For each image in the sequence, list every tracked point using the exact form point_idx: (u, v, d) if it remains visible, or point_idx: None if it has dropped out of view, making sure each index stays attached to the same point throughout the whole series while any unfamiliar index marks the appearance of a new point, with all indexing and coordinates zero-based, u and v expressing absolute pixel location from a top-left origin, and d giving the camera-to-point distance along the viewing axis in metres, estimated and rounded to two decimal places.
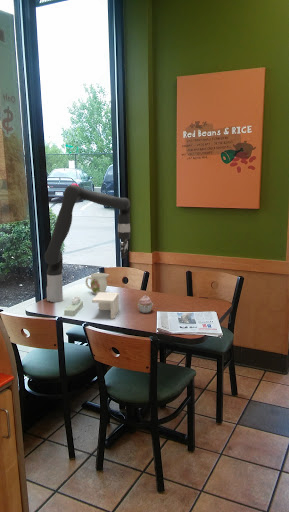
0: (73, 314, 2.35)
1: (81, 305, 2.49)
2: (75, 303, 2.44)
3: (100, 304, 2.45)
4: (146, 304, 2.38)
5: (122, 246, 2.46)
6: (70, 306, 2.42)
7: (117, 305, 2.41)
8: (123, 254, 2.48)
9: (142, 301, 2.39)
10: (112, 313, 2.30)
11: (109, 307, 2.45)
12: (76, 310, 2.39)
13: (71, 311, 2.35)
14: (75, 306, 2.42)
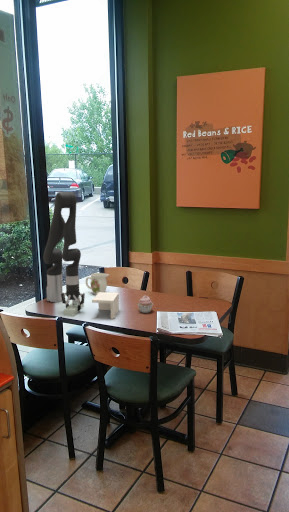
0: (73, 314, 2.35)
1: (82, 305, 2.49)
2: (75, 303, 2.44)
3: (100, 304, 2.45)
4: (146, 304, 2.38)
5: (83, 298, 2.40)
6: (71, 306, 2.42)
7: (117, 305, 2.41)
8: (80, 306, 2.42)
9: (142, 301, 2.39)
10: (112, 313, 2.30)
11: (109, 307, 2.45)
12: (76, 310, 2.38)
13: (71, 310, 2.35)
14: (75, 306, 2.42)
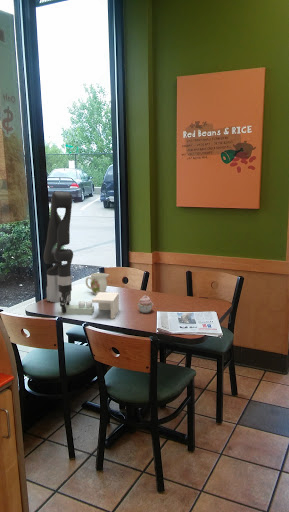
0: None
1: (86, 311, 2.37)
2: (78, 305, 2.39)
3: (100, 304, 2.45)
4: (146, 304, 2.38)
5: (62, 301, 2.34)
6: (75, 306, 2.42)
7: (117, 305, 2.41)
8: (64, 309, 2.37)
9: (142, 301, 2.39)
10: (112, 313, 2.30)
11: (109, 307, 2.45)
12: (68, 310, 2.38)
13: None
14: (74, 307, 2.39)
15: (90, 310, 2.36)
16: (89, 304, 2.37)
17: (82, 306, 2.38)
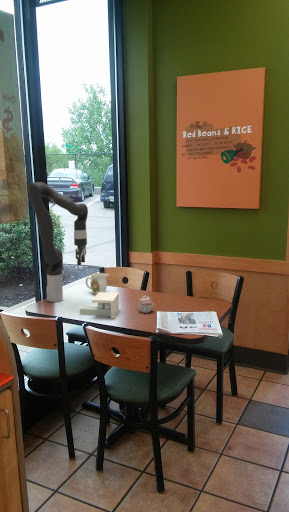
0: None
1: (104, 313, 2.36)
2: (97, 306, 2.38)
3: None
4: (146, 304, 2.38)
5: (77, 253, 2.41)
6: (94, 307, 2.40)
7: (117, 305, 2.41)
8: (79, 261, 2.44)
9: (142, 301, 2.39)
10: (112, 313, 2.30)
11: None
12: (86, 311, 2.37)
13: None
14: (93, 308, 2.38)
15: (109, 311, 2.35)
16: (108, 305, 2.36)
17: (101, 307, 2.37)
